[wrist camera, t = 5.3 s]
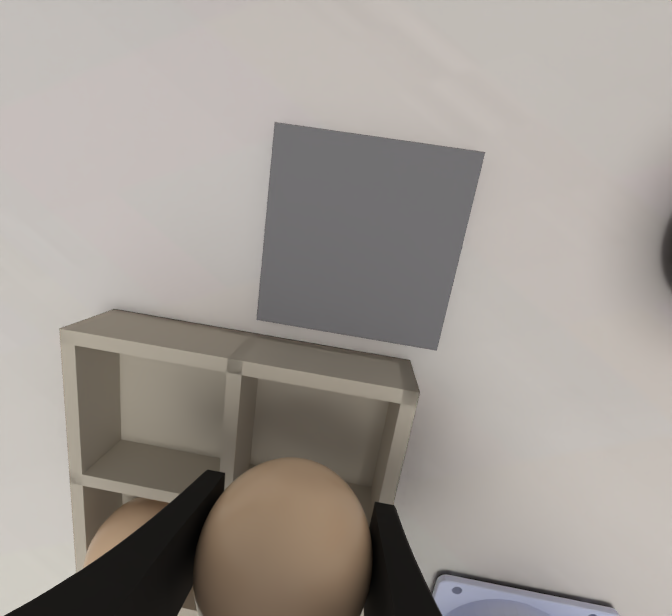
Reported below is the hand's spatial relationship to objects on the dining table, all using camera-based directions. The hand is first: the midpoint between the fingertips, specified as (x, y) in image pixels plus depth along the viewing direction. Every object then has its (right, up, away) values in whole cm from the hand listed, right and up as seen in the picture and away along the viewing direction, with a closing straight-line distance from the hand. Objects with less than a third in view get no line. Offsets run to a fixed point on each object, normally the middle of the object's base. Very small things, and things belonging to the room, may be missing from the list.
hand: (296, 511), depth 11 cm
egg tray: (-3, -1, +7) cm, 7 cm away
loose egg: (0, 0, +1) cm, 1 cm away
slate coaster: (+2, +9, +3) cm, 10 cm away
